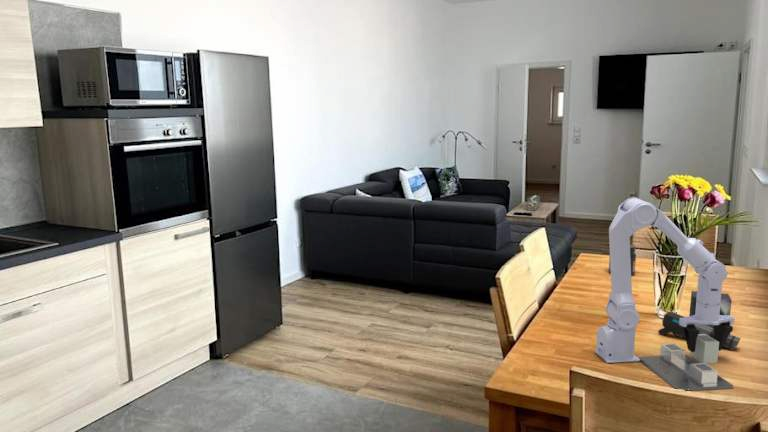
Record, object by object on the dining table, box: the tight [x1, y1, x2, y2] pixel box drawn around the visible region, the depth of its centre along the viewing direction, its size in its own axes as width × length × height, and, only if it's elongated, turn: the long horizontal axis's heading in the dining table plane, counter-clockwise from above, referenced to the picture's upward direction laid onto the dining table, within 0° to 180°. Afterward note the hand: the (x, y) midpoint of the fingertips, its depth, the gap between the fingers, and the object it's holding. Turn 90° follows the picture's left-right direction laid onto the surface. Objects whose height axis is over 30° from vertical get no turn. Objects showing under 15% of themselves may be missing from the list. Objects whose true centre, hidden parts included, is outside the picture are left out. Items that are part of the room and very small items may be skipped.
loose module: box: [689, 334, 719, 365], centre depth 162 cm, size 4×6×6 cm, turn 6°
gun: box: [658, 311, 741, 351], centre depth 174 cm, size 4×20×10 cm, turn 50°
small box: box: [689, 290, 732, 328], centre depth 186 cm, size 11×6×10 cm, turn 70°
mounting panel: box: [637, 343, 734, 391], centre depth 153 cm, size 14×19×5 cm
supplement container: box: [608, 244, 637, 277], centre depth 248 cm, size 10×10×12 cm
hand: (704, 349), depth 162 cm, fingers open, 7 cm apart
